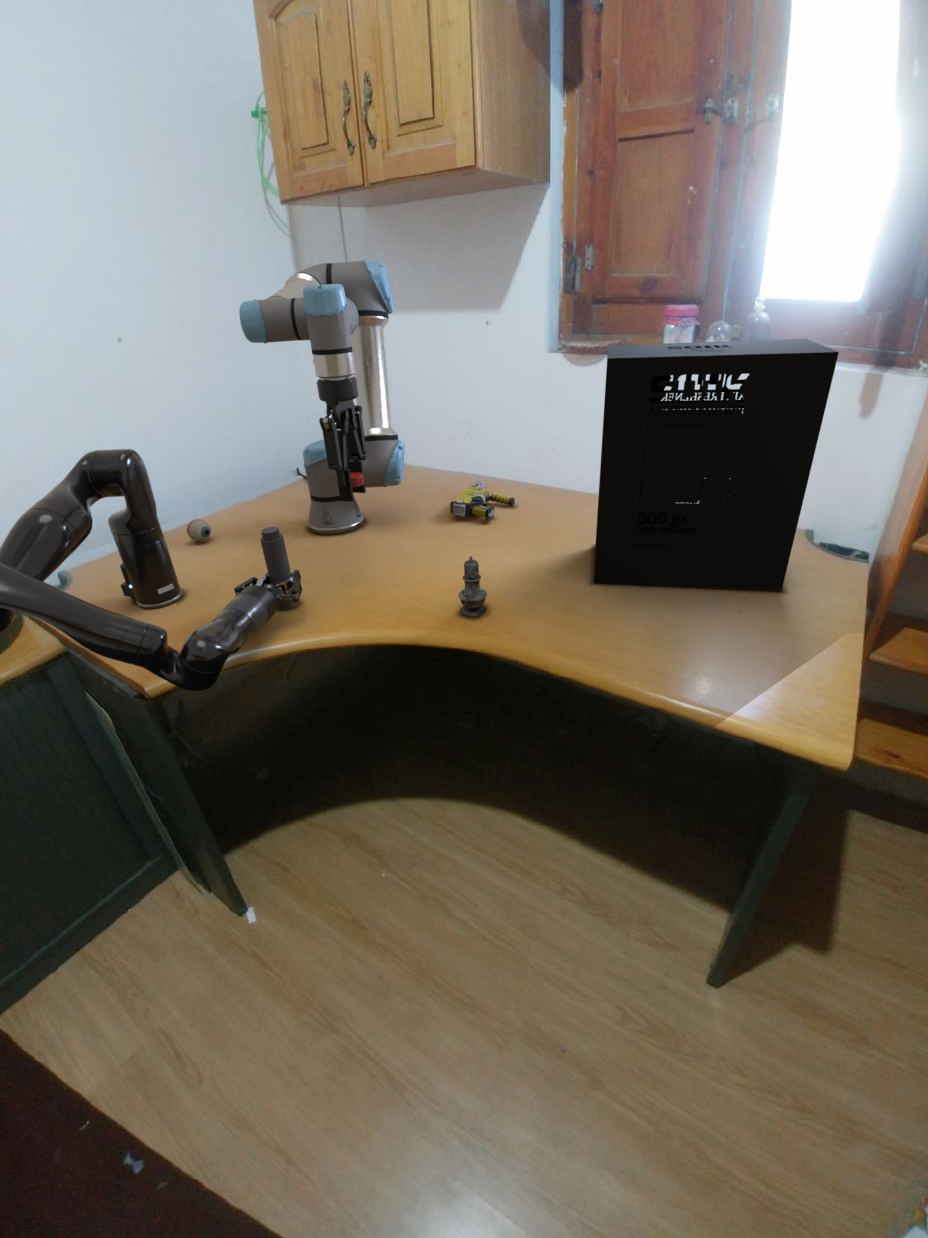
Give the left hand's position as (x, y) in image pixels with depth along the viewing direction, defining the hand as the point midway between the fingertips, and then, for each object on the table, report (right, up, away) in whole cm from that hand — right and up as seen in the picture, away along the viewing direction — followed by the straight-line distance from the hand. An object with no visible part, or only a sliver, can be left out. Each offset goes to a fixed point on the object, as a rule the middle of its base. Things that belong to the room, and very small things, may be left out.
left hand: (286, 573), depth 129 cm
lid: (+15, +19, -5) cm, 25 cm away
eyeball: (-33, +11, +35) cm, 50 cm away
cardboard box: (+87, +2, +7) cm, 87 cm away
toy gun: (+45, +23, +47) cm, 69 cm away
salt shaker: (+40, -8, -6) cm, 41 cm away
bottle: (0, -7, +1) cm, 7 cm away
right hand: (+15, +16, -3) cm, 22 cm away
